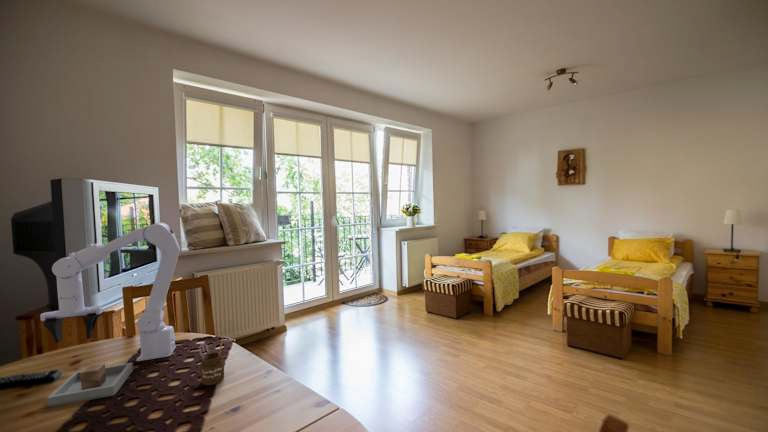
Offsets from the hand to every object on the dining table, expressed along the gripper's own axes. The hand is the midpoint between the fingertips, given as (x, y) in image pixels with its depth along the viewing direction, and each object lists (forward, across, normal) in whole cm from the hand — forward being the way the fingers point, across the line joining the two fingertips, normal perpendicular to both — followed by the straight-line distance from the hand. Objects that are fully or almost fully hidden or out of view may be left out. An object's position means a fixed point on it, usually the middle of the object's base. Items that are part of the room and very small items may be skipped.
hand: (74, 339), depth 105 cm
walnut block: (+9, +10, -15) cm, 20 cm away
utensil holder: (+10, +41, -24) cm, 48 cm away
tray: (+9, +10, -15) cm, 20 cm away
